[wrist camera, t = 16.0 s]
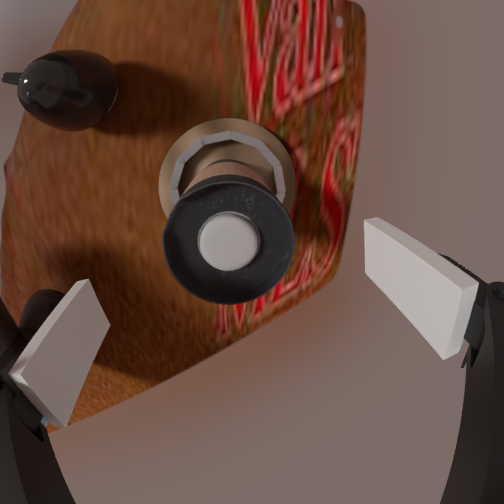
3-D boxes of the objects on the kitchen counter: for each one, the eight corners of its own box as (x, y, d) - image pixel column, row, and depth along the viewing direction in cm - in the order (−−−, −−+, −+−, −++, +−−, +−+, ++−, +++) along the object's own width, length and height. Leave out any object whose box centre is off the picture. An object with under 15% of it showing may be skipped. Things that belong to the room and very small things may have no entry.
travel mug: (264, 208, 35) (308, 287, 17) (206, 225, 35) (188, 320, 17) (248, 149, 32) (280, 160, 14) (187, 167, 32) (139, 204, 14)
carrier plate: (180, 259, 38) (177, 268, 36) (148, 137, 32) (141, 137, 29) (301, 233, 39) (307, 241, 36) (281, 108, 32) (286, 106, 29)
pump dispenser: (79, 55, 26) (15, 28, 12) (140, 67, 28) (91, 30, 14) (53, 122, 29) (-19, 125, 15) (110, 139, 31) (46, 145, 17)
